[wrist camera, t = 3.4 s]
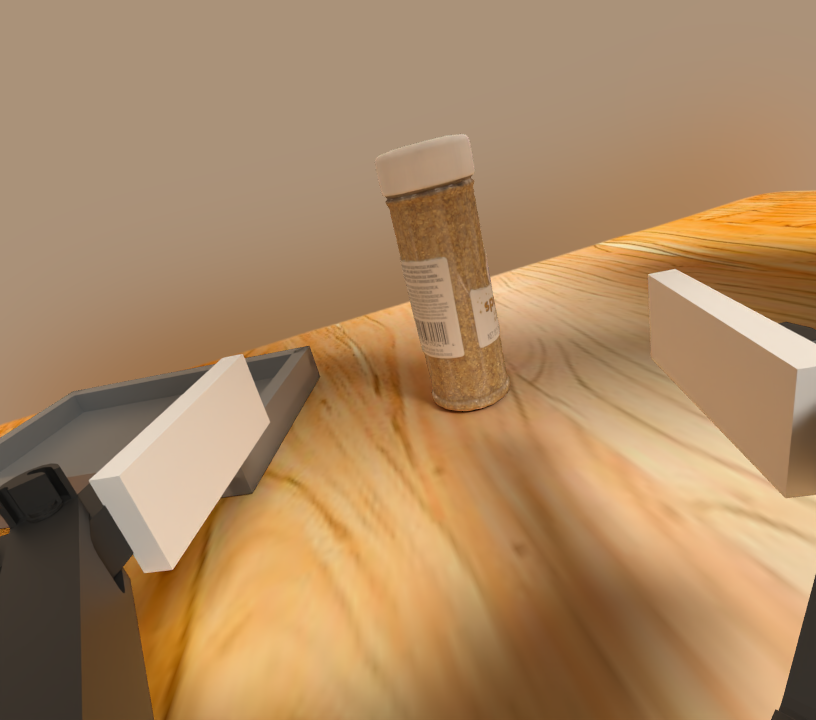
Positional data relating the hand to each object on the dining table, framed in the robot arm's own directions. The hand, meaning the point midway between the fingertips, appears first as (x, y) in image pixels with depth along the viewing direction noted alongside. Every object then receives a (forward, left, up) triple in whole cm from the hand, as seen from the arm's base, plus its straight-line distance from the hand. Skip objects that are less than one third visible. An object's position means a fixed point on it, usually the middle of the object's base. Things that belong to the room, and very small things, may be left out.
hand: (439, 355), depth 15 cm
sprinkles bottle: (0, -10, -7) cm, 12 cm away
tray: (+21, -10, -7) cm, 24 cm away
